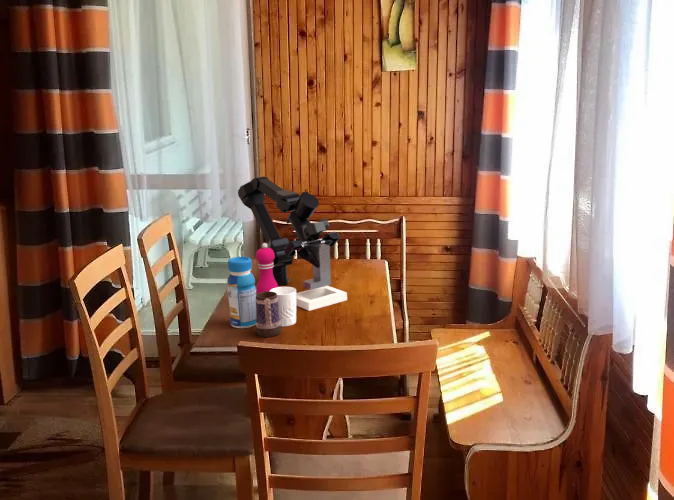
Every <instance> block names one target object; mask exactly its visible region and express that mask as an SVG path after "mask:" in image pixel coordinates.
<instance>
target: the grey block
mask: <svg viewBox="0 0 674 500" xmlns="http://www.w3.org/2000/svg"><path fill="white" fill-rule="evenodd" d="M312 252H313V254H314V256H315V258H316V259H317V261H318V264H319V268H317V267H315V266H314V265H312V276H313V278H309V279H307V280H303V281H302V286H303V288H305V289H307V290H313V289H316V288H320V287H324V286H330V285H332V276H331V272H332V271H331V248H330V245H326V244H323V243H321V244H316V245H312Z"/></svg>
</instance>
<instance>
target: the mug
mask: <svg viewBox="0 0 674 500" xmlns="http://www.w3.org/2000/svg"><path fill="white" fill-rule="evenodd" d="M280 325H281V320H280V317H279V308H278V296H277V294H276V293H275V292H270V291H267V292H260V293H258V294H257V293H256V325H255V326H256V334H257V336H259V337H263V338H271V337H276V336H278V335H280V334H281V332H282V328H281V327H282V326H280Z"/></svg>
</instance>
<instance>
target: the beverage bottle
mask: <svg viewBox="0 0 674 500" xmlns="http://www.w3.org/2000/svg"><path fill="white" fill-rule="evenodd" d="M227 266H228V267H227V268H228V272H229V273H230V274H229V275H228V277H227V280H226V285H227V286H228V287H227V291H226V293H227V296H228V308H229V321H230V322H229V324H230V326H231V327H233V328H235V329H249V328H252V327H255V326H256V294H257V293H256V288H257V286H256V285H255V283H256V279H255V276H254V275H253V273H252V272H251V271H252V267H253V266H252V259H251V258H250V257H249V256H235V257H231V258H229V259H228V260H227Z"/></svg>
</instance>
